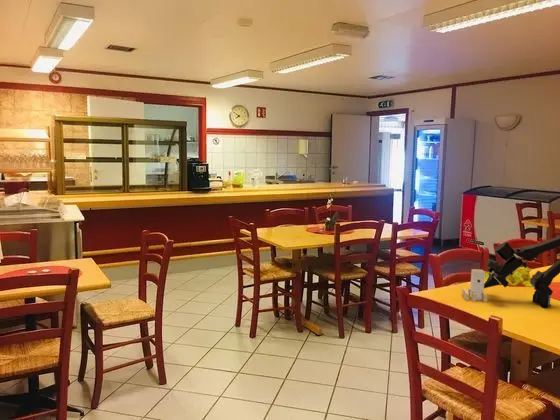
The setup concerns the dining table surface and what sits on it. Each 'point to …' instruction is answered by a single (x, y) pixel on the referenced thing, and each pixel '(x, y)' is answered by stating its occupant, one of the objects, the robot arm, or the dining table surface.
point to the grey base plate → (467, 294)
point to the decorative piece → (517, 277)
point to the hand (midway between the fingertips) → (483, 287)
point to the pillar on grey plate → (477, 283)
